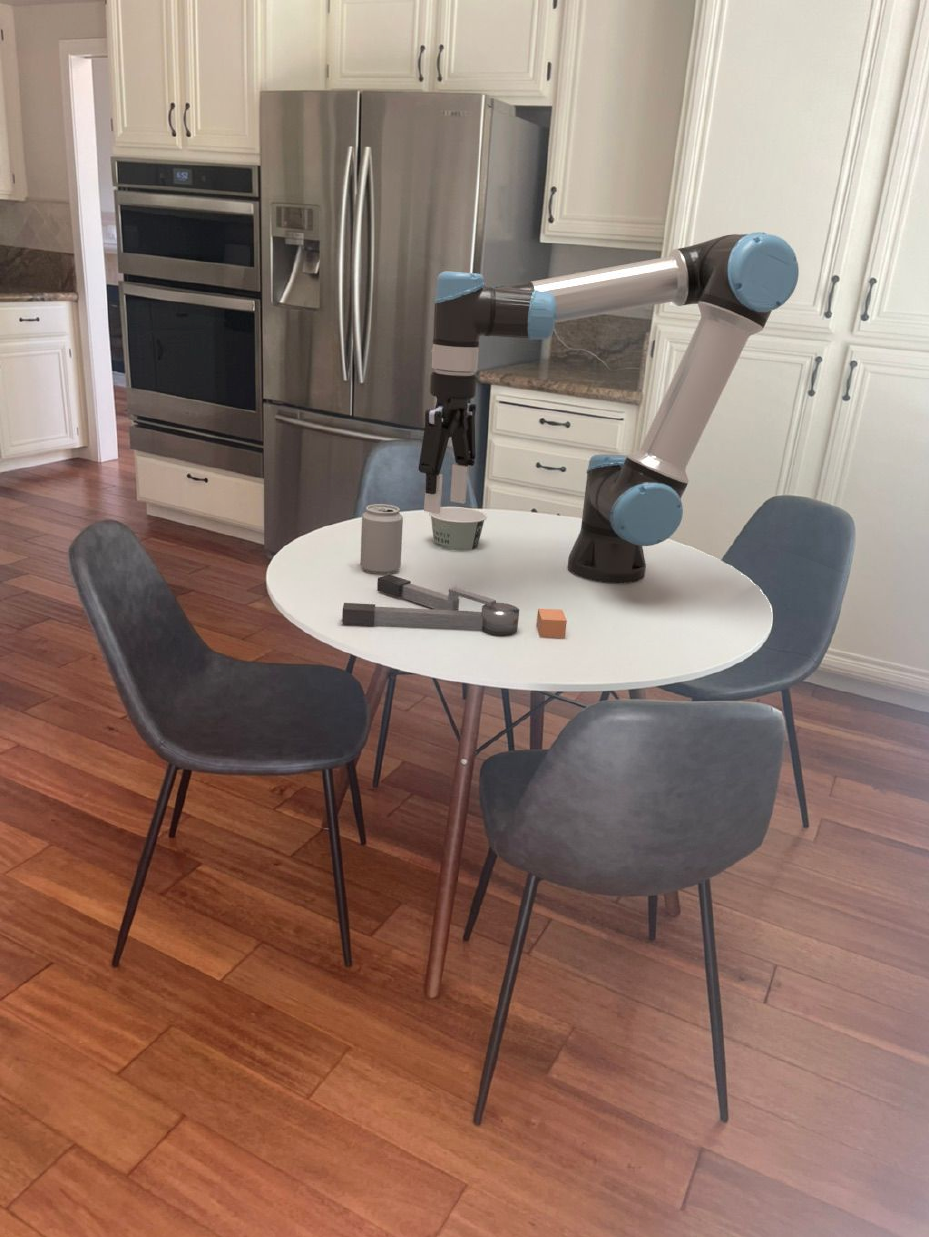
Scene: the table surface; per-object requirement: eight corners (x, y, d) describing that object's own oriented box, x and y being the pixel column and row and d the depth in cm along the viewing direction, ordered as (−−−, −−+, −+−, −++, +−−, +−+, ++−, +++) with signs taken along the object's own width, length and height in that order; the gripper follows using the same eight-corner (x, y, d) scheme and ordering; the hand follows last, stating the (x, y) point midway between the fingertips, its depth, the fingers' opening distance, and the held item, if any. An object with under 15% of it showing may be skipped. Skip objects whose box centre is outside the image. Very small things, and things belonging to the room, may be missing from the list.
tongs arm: (496, 622, 154) (498, 599, 152) (485, 627, 151) (487, 603, 150) (388, 587, 166) (389, 565, 165) (377, 590, 164) (378, 568, 163)
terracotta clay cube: (560, 626, 155) (562, 609, 154) (564, 638, 150) (566, 620, 149) (536, 625, 154) (538, 608, 153) (540, 637, 150) (541, 619, 149)
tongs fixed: (515, 623, 155) (517, 603, 153) (519, 637, 149) (521, 616, 148) (344, 615, 153) (344, 594, 151) (341, 628, 147) (342, 607, 146)
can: (394, 578, 172) (397, 514, 168) (355, 572, 174) (357, 509, 169) (404, 566, 179) (407, 505, 175) (367, 561, 180) (369, 500, 176)
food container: (415, 543, 194) (417, 512, 192) (449, 533, 204) (451, 503, 202) (463, 556, 188) (465, 524, 186) (495, 545, 198) (498, 514, 195)
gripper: (463, 365, 164) (454, 492, 172) (400, 373, 146) (394, 515, 154) (502, 370, 161) (491, 499, 169) (442, 379, 143) (434, 523, 151)
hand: (445, 506), depth 162 cm, fingers open, 9 cm apart
